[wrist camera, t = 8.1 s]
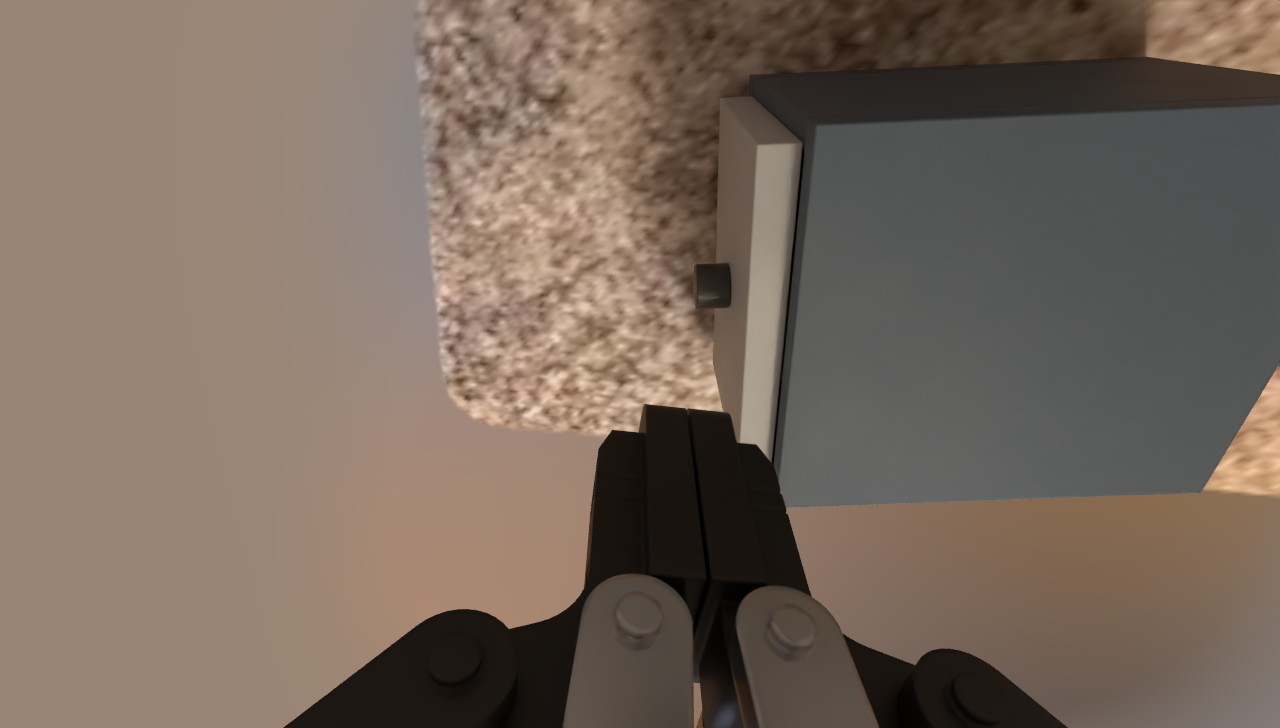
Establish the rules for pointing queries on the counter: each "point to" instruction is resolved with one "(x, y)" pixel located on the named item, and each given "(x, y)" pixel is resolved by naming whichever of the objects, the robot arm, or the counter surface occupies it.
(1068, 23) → the counter surface
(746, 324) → the drawer
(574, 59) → the counter surface
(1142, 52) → the counter surface
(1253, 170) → the cabinet
